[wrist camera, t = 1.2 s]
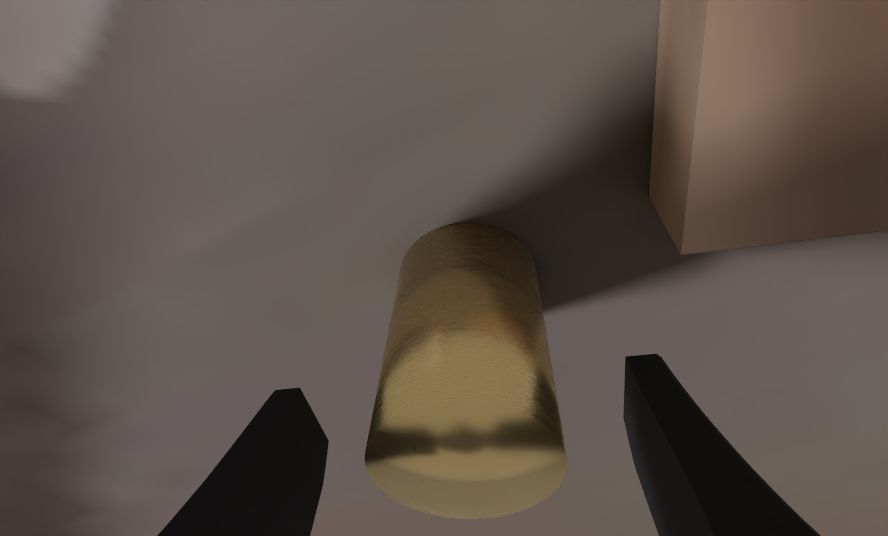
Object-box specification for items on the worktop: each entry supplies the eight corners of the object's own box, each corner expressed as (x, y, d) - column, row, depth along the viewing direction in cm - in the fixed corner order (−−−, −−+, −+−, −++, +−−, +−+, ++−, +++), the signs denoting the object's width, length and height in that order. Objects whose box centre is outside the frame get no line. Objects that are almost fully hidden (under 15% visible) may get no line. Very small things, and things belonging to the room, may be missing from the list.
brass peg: (530, 213, 13) (561, 394, 9) (541, 323, 16) (571, 514, 11) (384, 233, 14) (338, 413, 9) (416, 336, 16) (392, 523, 12)
